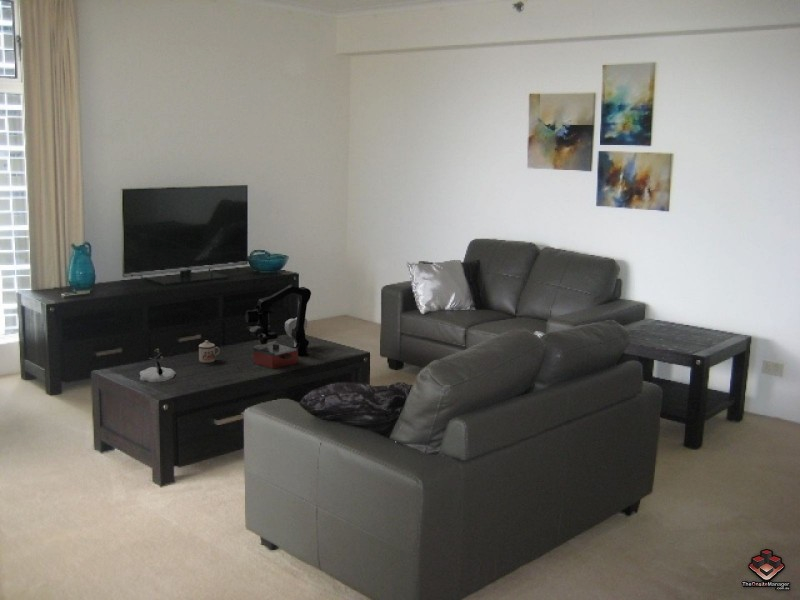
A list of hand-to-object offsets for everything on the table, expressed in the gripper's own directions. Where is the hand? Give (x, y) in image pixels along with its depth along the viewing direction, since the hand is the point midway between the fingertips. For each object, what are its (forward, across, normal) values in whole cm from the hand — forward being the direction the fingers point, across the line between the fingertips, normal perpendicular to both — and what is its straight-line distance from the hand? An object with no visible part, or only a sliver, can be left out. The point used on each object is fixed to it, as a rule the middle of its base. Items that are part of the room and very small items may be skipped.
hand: (263, 347), depth 495 cm
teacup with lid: (+7, -18, -24) cm, 31 cm away
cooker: (+6, +12, 0) cm, 14 cm away
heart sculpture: (+7, -6, +30) cm, 31 cm away
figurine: (+7, -11, -62) cm, 64 cm away
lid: (+1, +11, 0) cm, 11 cm away
